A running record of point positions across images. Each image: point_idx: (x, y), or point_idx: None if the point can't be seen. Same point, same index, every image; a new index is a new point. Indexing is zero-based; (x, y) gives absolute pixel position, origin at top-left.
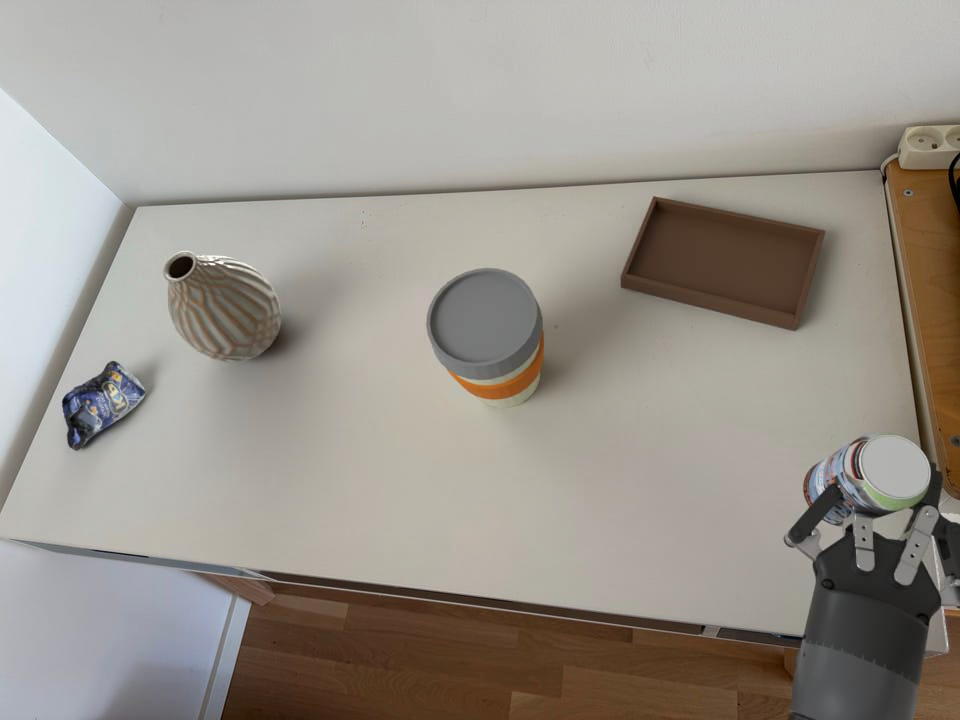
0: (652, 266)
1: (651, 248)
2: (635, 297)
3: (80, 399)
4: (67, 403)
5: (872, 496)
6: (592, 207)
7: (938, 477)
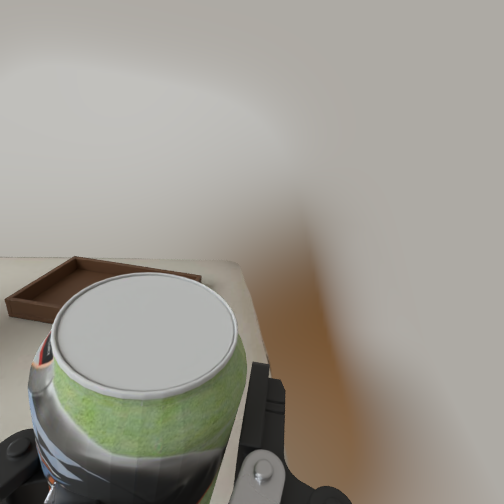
0: (51, 299)
1: (58, 289)
2: (19, 323)
3: None
4: None
5: (68, 411)
6: (22, 268)
7: (277, 390)
